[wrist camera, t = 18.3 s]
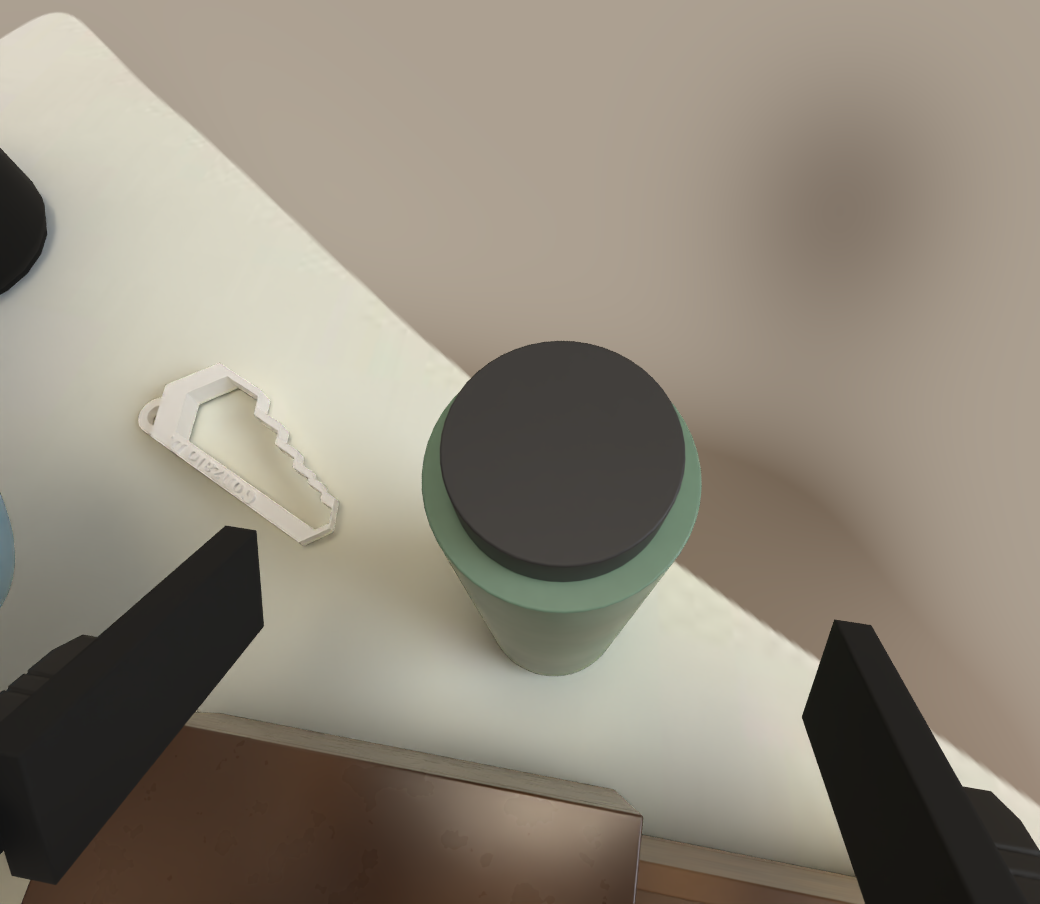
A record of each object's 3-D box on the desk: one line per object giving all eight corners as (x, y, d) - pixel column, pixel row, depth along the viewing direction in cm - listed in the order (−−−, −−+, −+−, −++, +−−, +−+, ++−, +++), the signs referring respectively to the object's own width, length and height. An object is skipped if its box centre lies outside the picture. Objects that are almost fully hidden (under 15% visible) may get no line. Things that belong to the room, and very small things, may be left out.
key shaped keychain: (385, 477, 33) (377, 464, 32) (321, 558, 32) (309, 550, 30) (201, 356, 36) (185, 339, 35) (135, 425, 35) (115, 410, 33)
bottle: (464, 632, 30) (347, 502, 13) (528, 522, 32) (505, 274, 14) (580, 702, 29) (633, 664, 11) (641, 582, 31) (766, 390, 13)
